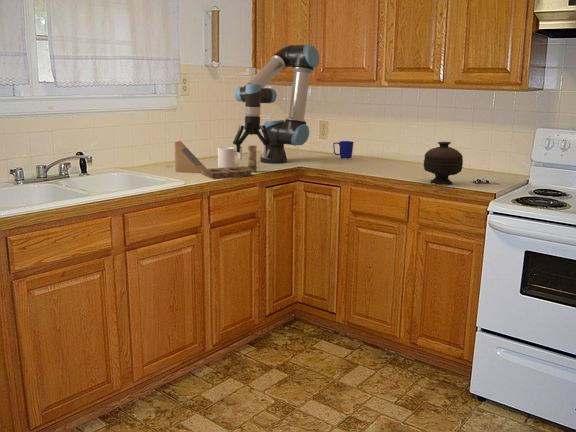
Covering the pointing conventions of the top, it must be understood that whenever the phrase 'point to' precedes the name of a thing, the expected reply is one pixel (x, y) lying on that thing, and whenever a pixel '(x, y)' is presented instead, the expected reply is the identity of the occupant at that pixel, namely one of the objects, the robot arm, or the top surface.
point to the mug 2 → (345, 149)
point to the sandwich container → (186, 160)
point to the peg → (252, 158)
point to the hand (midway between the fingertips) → (251, 158)
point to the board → (225, 172)
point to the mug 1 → (227, 157)
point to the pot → (443, 162)
